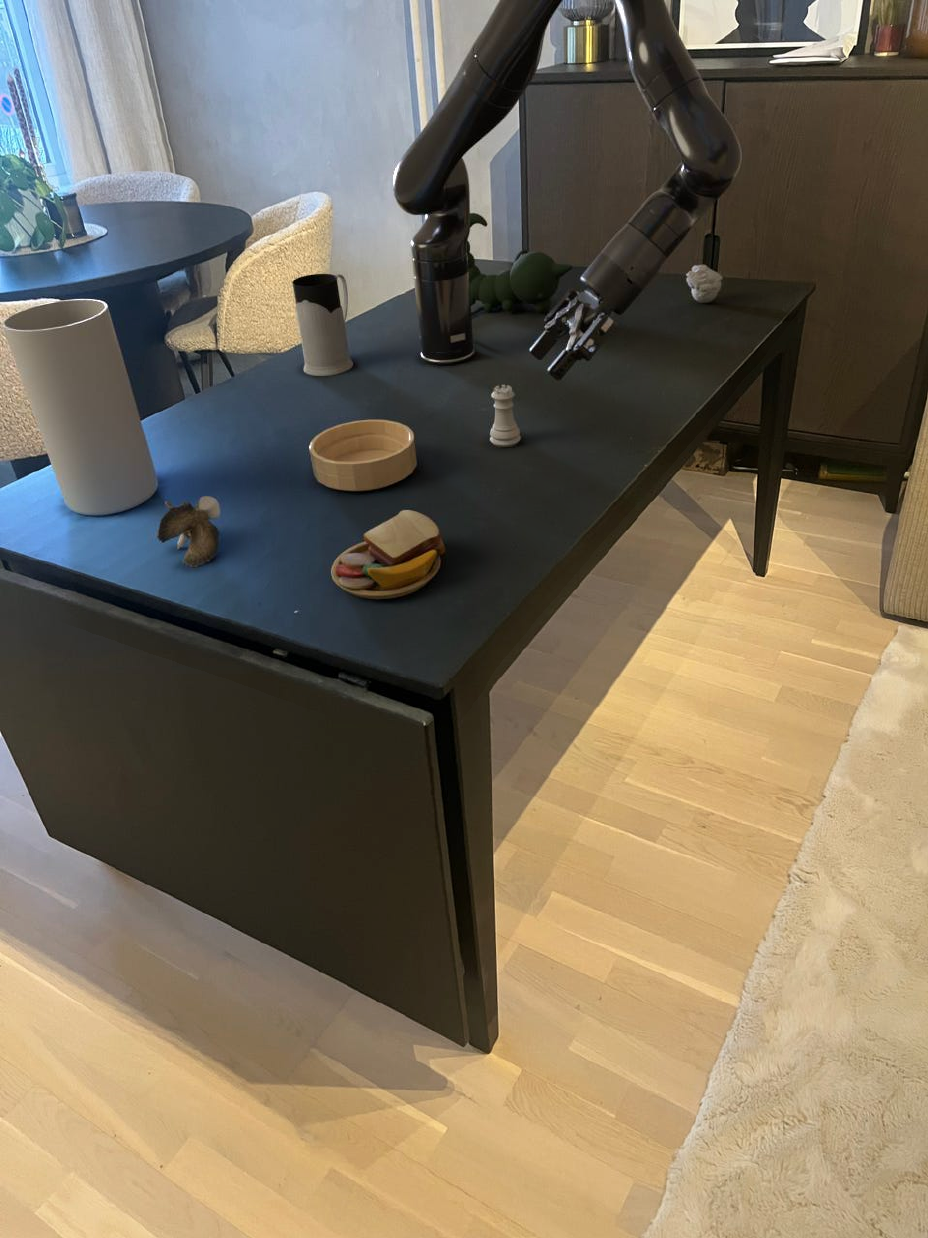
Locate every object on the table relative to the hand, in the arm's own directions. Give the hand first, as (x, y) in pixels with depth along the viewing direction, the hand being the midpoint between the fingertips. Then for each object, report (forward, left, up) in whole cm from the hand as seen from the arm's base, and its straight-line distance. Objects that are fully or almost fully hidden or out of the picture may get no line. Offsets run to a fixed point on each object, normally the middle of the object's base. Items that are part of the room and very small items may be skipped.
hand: (543, 366), depth 130 cm
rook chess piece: (+1, -6, -10) cm, 12 cm away
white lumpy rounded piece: (-53, +38, -10) cm, 66 cm away
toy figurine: (-60, +2, -10) cm, 61 cm away
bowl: (+6, -26, -10) cm, 28 cm away
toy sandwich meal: (+33, -23, -10) cm, 41 cm away
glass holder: (-40, -32, -10) cm, 52 cm away
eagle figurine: (+23, -47, -10) cm, 53 cm away
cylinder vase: (+6, -61, -10) cm, 62 cm away
